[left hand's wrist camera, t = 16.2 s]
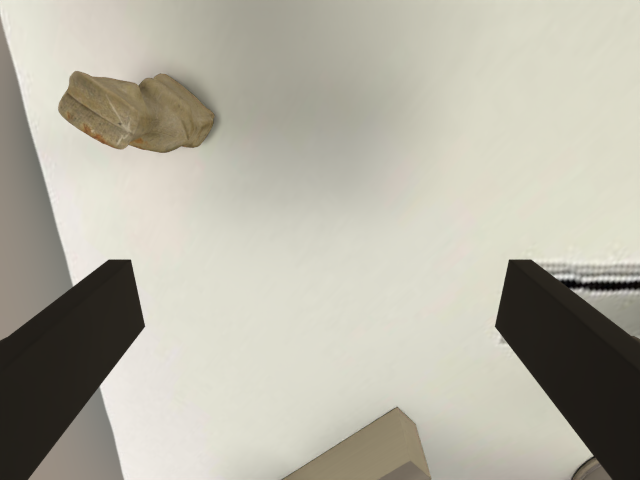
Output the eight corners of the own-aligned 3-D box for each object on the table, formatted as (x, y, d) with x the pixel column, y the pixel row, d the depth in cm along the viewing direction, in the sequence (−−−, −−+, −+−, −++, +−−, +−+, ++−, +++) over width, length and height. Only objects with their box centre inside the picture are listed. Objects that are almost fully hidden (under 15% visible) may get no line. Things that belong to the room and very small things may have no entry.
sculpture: (170, 63, 36) (75, 41, 22) (229, 112, 38) (176, 121, 24) (140, 110, 38) (35, 117, 24) (198, 155, 39) (132, 187, 26)
